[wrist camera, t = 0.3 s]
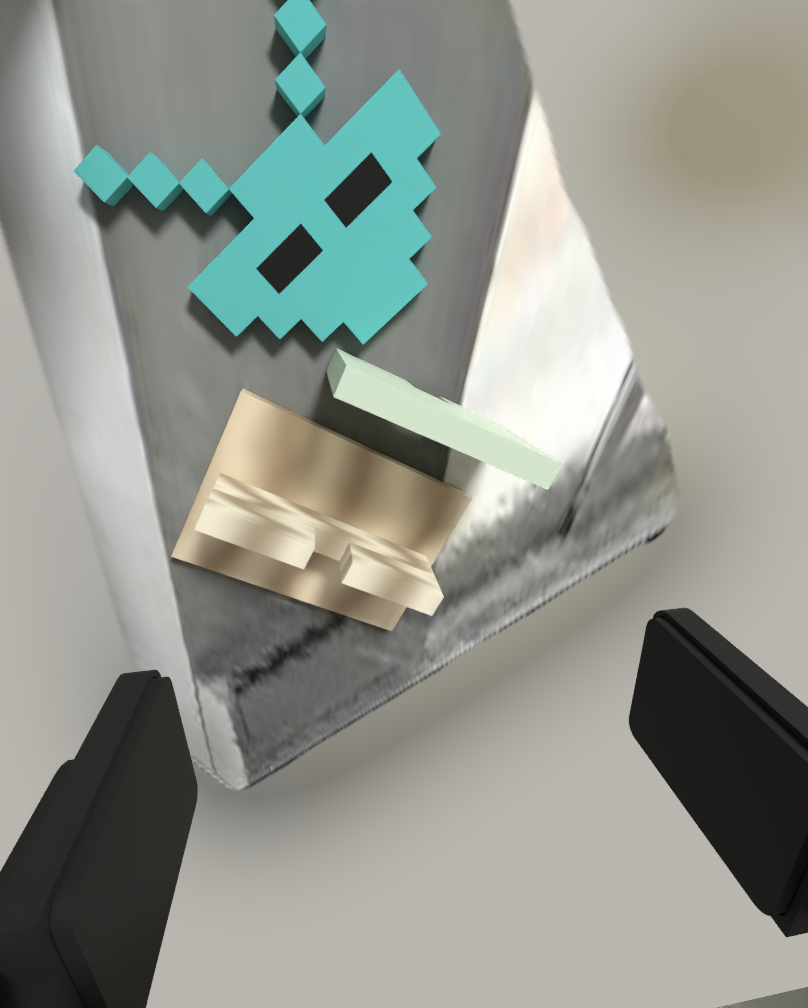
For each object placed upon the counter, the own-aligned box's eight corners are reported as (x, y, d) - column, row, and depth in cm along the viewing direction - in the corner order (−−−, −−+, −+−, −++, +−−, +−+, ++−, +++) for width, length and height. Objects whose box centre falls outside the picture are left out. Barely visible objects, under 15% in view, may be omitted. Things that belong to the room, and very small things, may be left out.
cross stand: (174, 550, 45) (147, 602, 37) (242, 388, 40) (227, 411, 33) (390, 624, 52) (403, 680, 44) (468, 493, 47) (497, 532, 40)
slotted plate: (326, 370, 41) (333, 396, 30) (335, 347, 40) (346, 365, 29) (490, 444, 46) (547, 489, 35) (500, 424, 45) (562, 464, 34)
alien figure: (87, 178, 34) (301, 397, 42) (73, 171, 32) (301, 402, 40) (300, -61, 31) (486, 223, 39) (300, -86, 29) (496, 219, 37)
